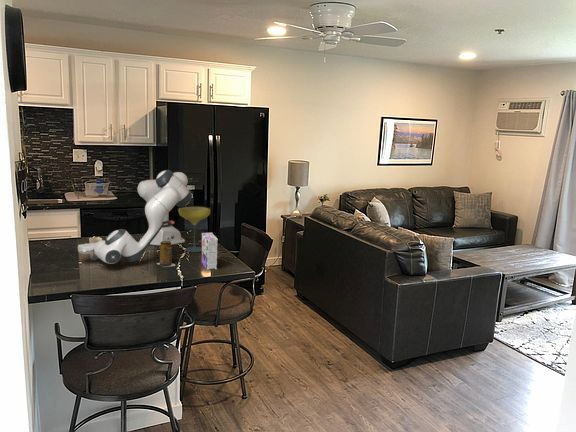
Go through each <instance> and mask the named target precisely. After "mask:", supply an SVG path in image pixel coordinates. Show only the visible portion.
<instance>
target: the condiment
mask: <svg viewBox="0 0 576 432" xmlns="http://www.w3.org/2000/svg"><path fill="white" fill-rule="evenodd" d="M172 250H173V249H172V245H171V242H170V241H162V242H161V245H159V262H157V263H156V264H157V265H158V266H160V267H161V268H168V267H169V268H170V267H175V266H177V265H176V264H175V263H172V261H173V251H172Z"/></svg>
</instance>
